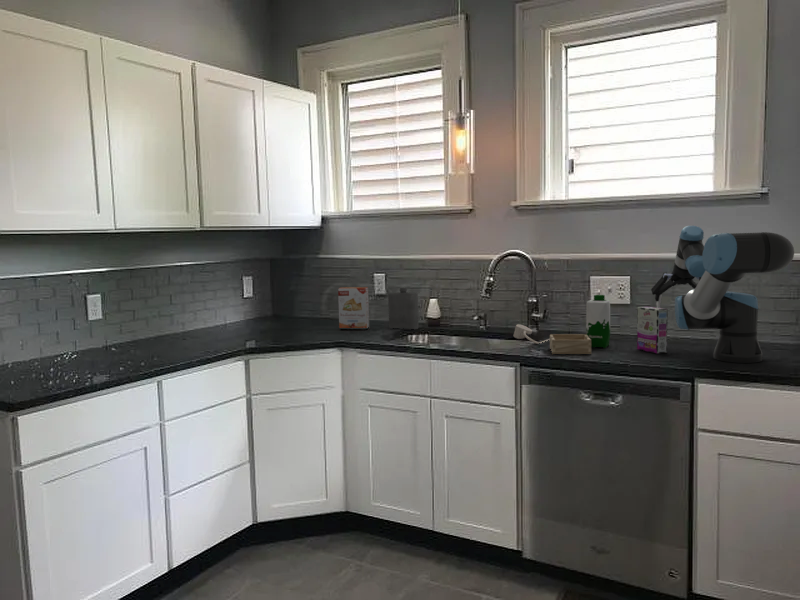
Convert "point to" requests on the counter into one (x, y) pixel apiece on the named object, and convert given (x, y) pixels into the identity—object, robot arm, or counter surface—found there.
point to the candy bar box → (652, 329)
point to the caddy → (570, 344)
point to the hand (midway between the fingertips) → (676, 306)
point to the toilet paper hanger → (524, 333)
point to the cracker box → (353, 307)
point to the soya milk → (598, 321)
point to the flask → (403, 309)
